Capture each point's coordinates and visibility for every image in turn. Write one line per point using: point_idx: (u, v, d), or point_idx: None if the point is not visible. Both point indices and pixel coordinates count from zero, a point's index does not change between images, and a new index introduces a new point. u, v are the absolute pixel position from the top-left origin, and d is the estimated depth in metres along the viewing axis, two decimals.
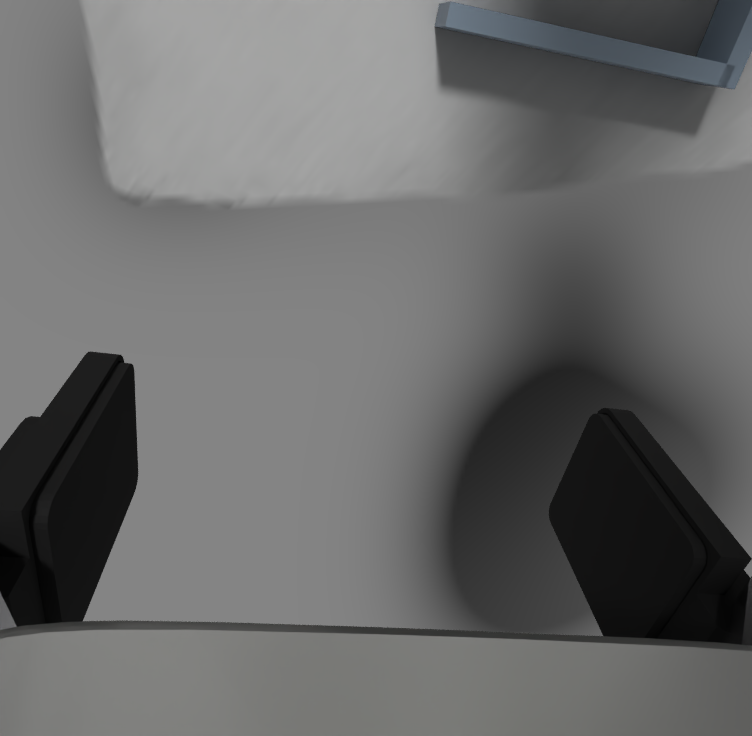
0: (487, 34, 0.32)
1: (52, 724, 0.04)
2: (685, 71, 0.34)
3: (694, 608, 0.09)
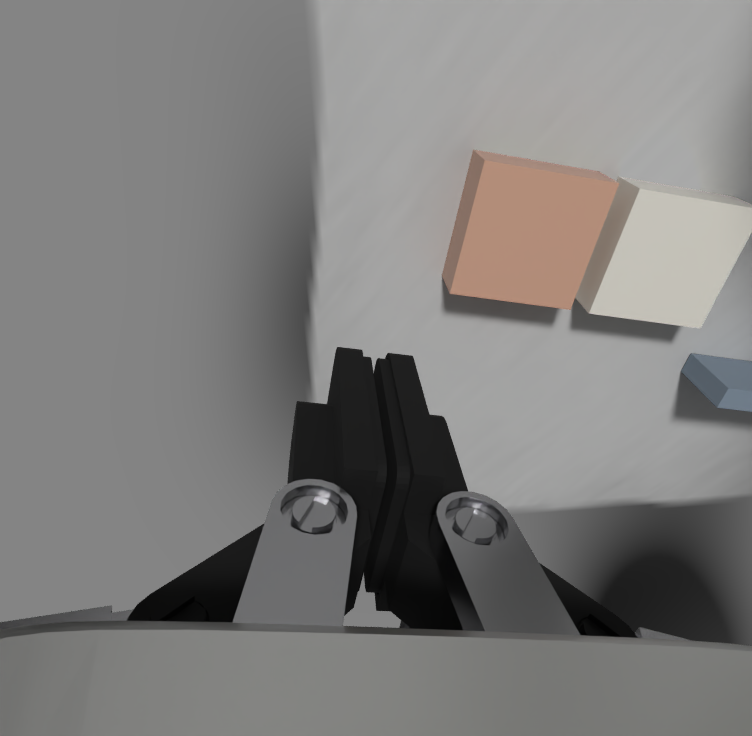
0: None
1: (51, 724, 0.04)
2: None
3: (402, 527, 0.09)
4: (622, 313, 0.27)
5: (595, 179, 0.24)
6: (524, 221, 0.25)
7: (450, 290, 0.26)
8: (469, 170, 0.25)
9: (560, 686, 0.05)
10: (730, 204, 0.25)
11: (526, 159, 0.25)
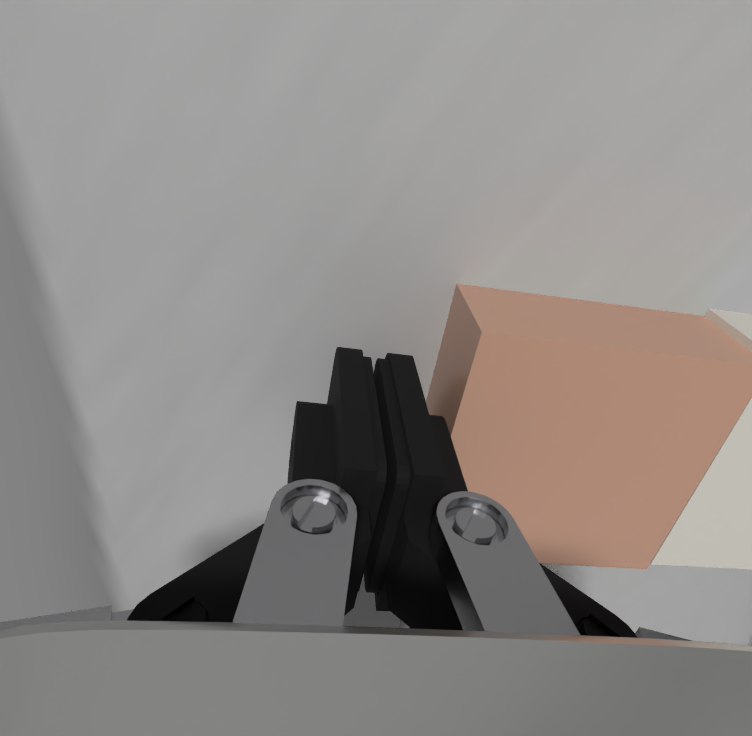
0: None
1: (52, 724, 0.04)
2: None
3: (402, 527, 0.09)
4: (714, 560, 0.14)
5: (720, 360, 0.11)
6: (565, 438, 0.12)
7: None
8: (450, 325, 0.12)
9: (560, 686, 0.05)
10: None
11: (566, 302, 0.12)
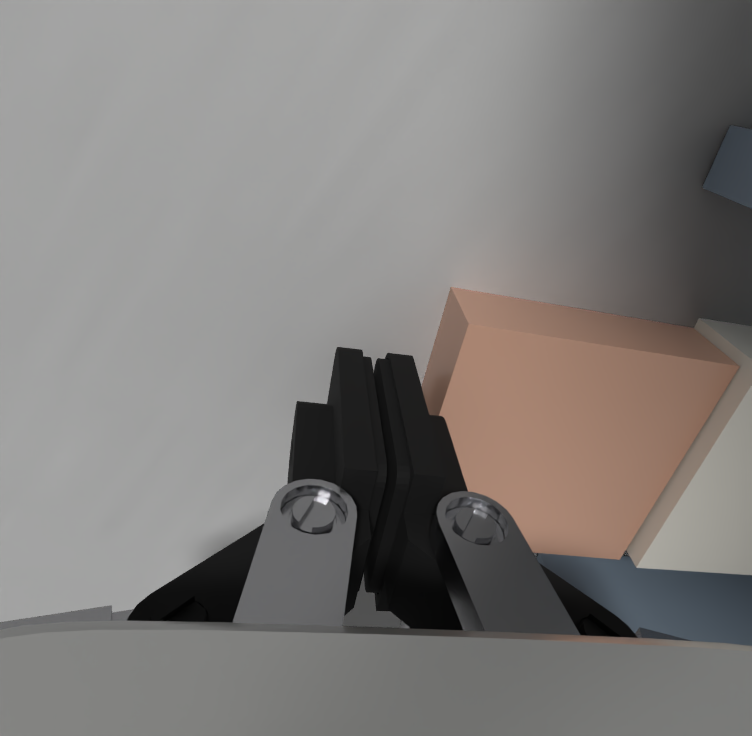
0: None
1: (51, 724, 0.04)
2: None
3: (402, 527, 0.09)
4: (698, 565, 0.14)
5: (693, 358, 0.12)
6: (545, 429, 0.12)
7: None
8: None
9: (560, 686, 0.05)
10: None
11: None
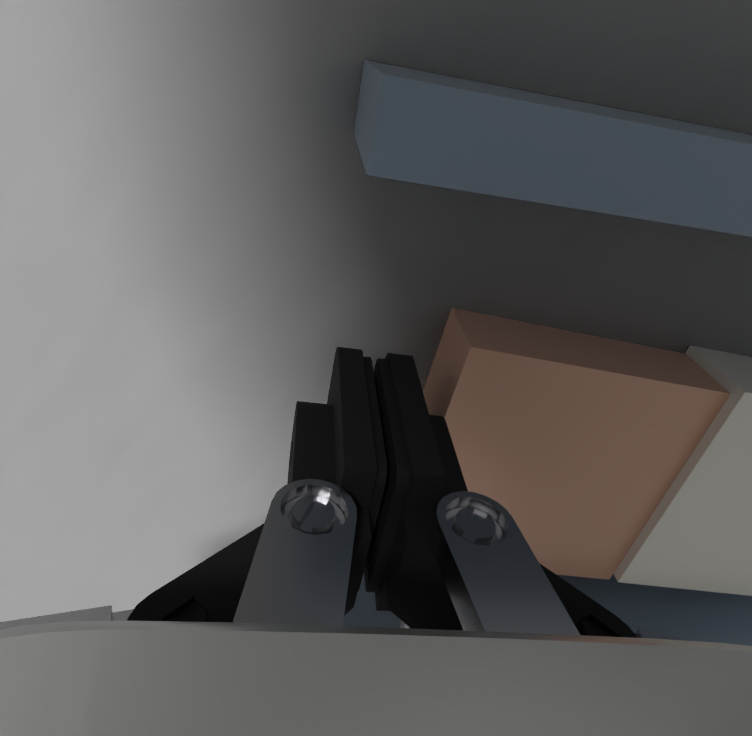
0: None
1: (52, 723, 0.04)
2: None
3: (402, 527, 0.09)
4: (677, 581, 0.15)
5: (686, 385, 0.12)
6: (542, 451, 0.12)
7: None
8: None
9: (560, 686, 0.05)
10: None
11: None
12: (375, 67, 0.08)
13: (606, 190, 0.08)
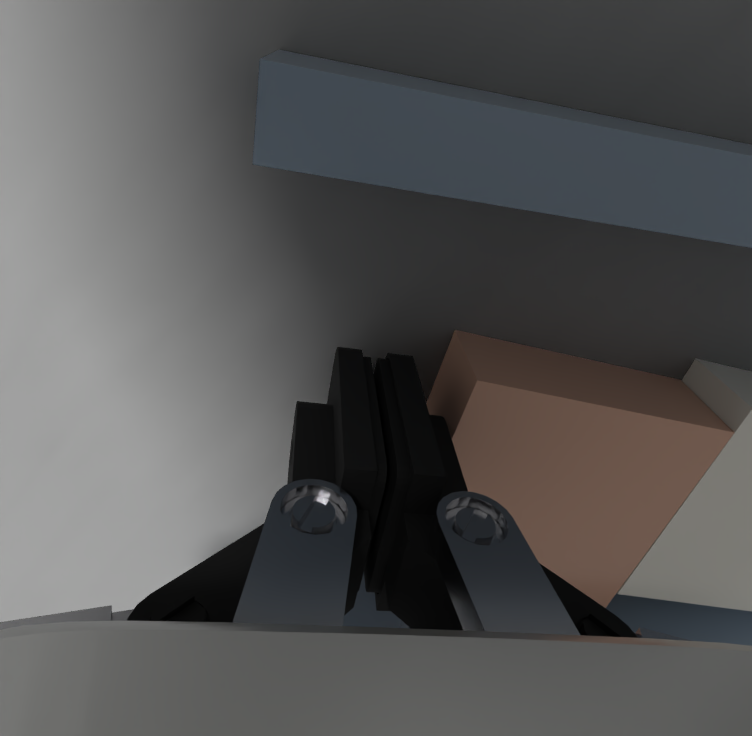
0: None
1: (52, 723, 0.04)
2: None
3: (402, 527, 0.09)
4: (676, 595, 0.15)
5: (690, 423, 0.12)
6: (543, 483, 0.12)
7: None
8: (444, 366, 0.13)
9: (561, 686, 0.05)
10: None
11: (554, 354, 0.13)
12: (272, 54, 0.08)
13: (505, 182, 0.08)
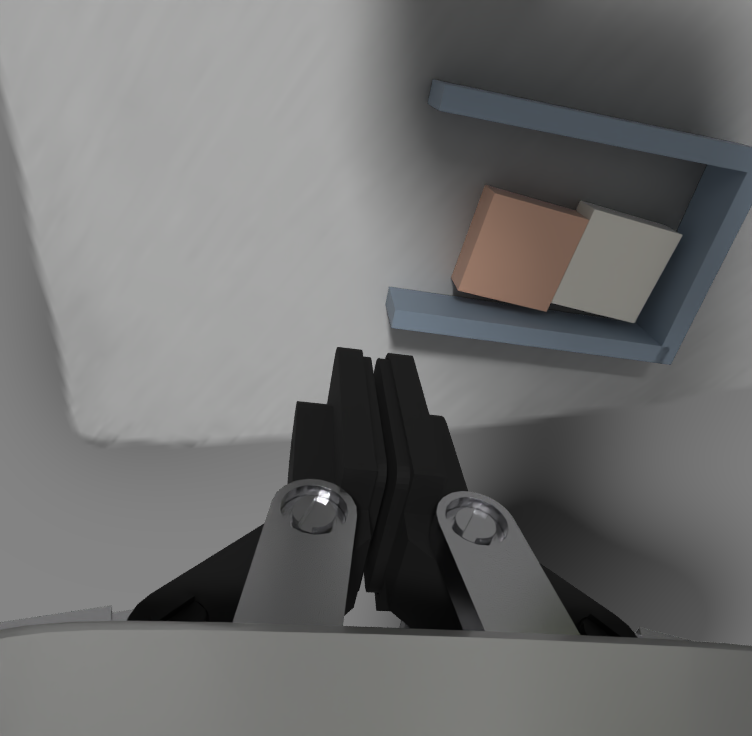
0: (431, 332, 0.34)
1: (52, 724, 0.04)
2: (622, 353, 0.36)
3: (402, 527, 0.09)
4: (576, 305, 0.35)
5: (572, 215, 0.33)
6: (518, 241, 0.33)
7: (458, 288, 0.34)
8: (480, 199, 0.34)
9: (560, 686, 0.05)
10: (659, 228, 0.33)
11: (523, 195, 0.34)
12: (440, 82, 0.28)
13: (504, 116, 0.28)
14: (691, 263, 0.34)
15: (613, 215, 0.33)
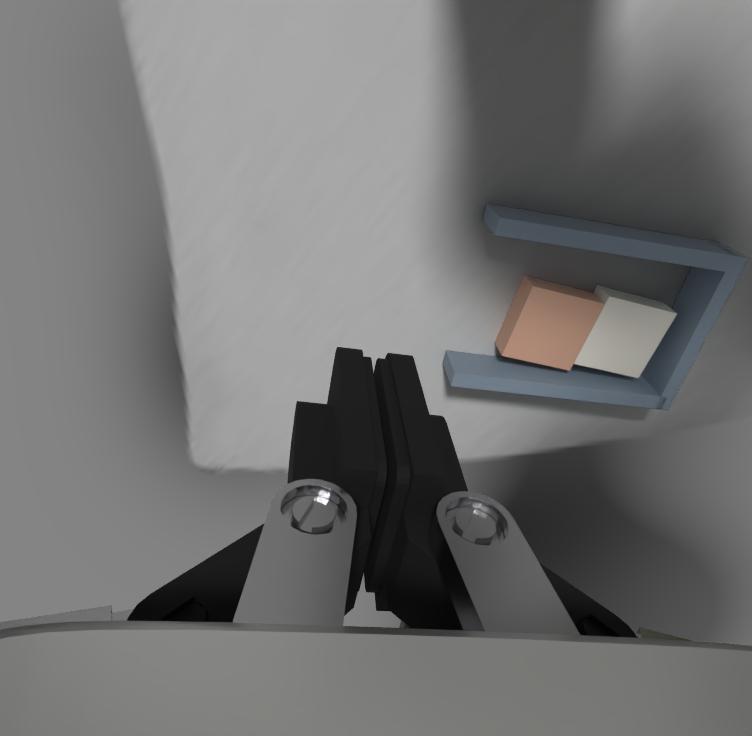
0: (481, 388, 0.44)
1: (52, 724, 0.04)
2: (629, 402, 0.46)
3: (402, 527, 0.09)
4: (593, 365, 0.45)
5: (591, 300, 0.42)
6: (550, 319, 0.43)
7: (502, 354, 0.44)
8: (520, 286, 0.43)
9: (560, 686, 0.05)
10: (659, 309, 0.43)
11: (553, 283, 0.43)
12: (494, 211, 0.38)
13: (543, 238, 0.38)
14: (683, 334, 0.44)
15: (623, 300, 0.42)
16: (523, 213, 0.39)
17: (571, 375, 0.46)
